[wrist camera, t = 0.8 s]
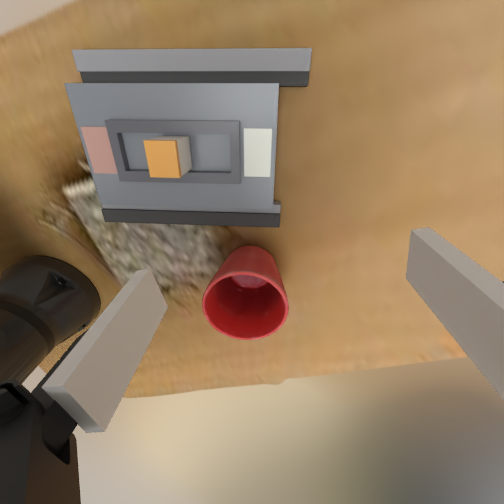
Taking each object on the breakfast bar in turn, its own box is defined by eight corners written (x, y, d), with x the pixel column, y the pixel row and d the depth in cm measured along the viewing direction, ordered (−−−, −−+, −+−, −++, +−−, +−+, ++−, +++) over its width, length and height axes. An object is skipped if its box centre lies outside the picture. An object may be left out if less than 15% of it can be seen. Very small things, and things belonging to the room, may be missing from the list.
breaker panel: (113, 197, 35) (96, 207, 32) (82, 85, 29) (57, 82, 25) (272, 201, 34) (272, 212, 30) (278, 85, 27) (279, 82, 24)
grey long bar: (91, 86, 29) (81, 85, 27) (83, 52, 27) (71, 49, 26) (306, 86, 27) (308, 85, 26) (309, 51, 26) (312, 47, 24)
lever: (166, 167, 29) (150, 177, 25) (161, 135, 28) (143, 140, 24) (192, 168, 29) (179, 177, 25) (188, 136, 28) (174, 140, 24)
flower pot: (202, 269, 40) (184, 312, 32) (245, 220, 36) (237, 256, 27) (254, 304, 43) (249, 352, 35) (300, 263, 38) (308, 307, 30)
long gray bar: (112, 216, 37) (105, 221, 35) (106, 196, 35) (98, 200, 34) (279, 222, 35) (279, 227, 34) (280, 201, 34) (280, 205, 32)
